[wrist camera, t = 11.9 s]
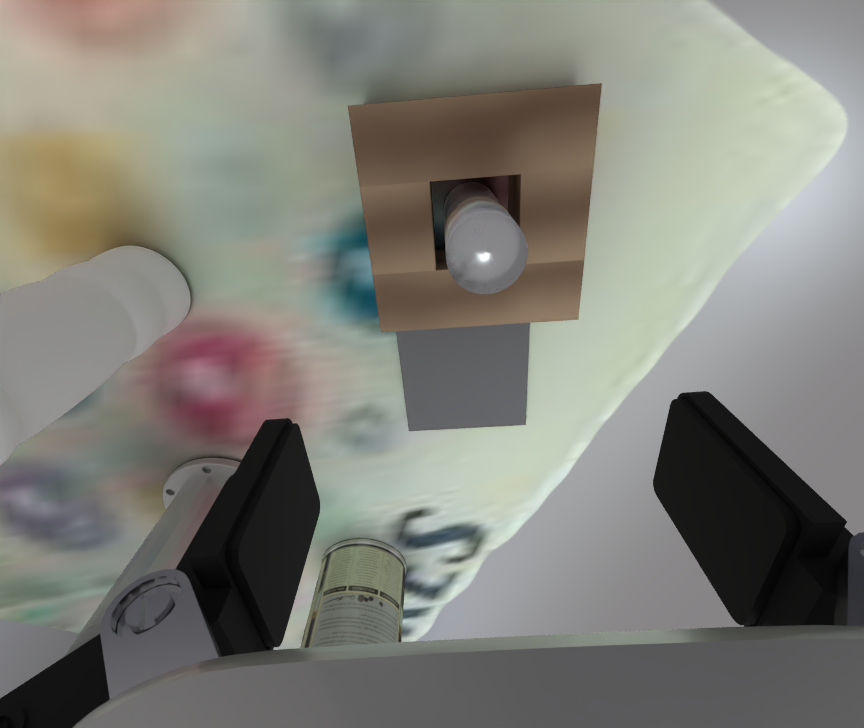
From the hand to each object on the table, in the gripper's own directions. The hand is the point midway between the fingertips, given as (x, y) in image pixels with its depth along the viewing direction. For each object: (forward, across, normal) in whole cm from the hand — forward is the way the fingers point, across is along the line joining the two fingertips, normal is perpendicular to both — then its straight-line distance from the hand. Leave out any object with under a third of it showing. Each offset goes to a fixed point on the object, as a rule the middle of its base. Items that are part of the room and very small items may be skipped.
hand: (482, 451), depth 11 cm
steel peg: (+24, -2, -2) cm, 25 cm away
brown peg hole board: (+24, -2, -2) cm, 25 cm away
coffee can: (+26, +12, +38) cm, 47 cm away
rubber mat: (+25, -1, +12) cm, 28 cm away
